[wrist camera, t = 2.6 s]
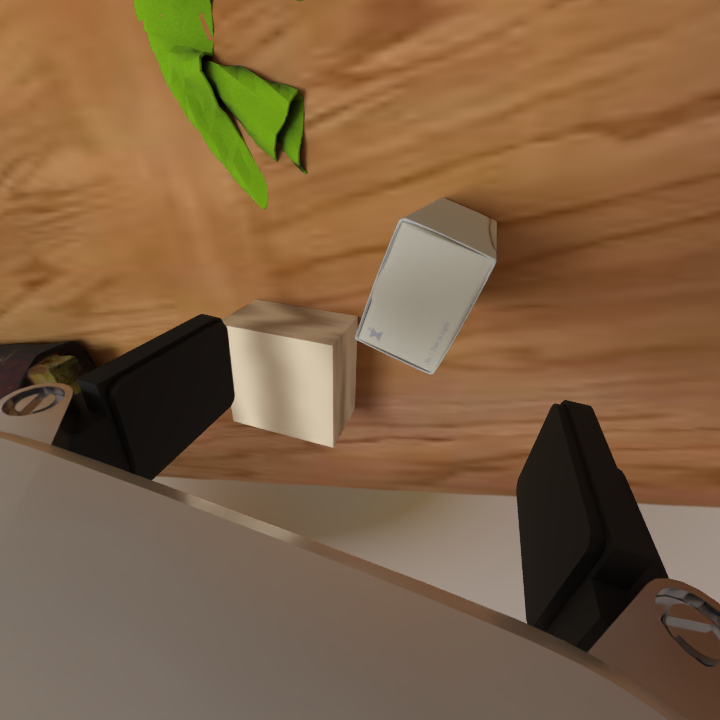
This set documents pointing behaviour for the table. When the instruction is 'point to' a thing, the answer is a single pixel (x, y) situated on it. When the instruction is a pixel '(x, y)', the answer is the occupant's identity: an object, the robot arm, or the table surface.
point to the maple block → (293, 369)
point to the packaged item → (42, 365)
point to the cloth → (222, 92)
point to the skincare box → (429, 283)
